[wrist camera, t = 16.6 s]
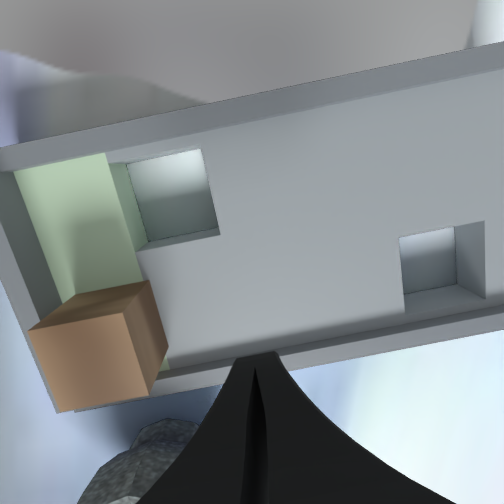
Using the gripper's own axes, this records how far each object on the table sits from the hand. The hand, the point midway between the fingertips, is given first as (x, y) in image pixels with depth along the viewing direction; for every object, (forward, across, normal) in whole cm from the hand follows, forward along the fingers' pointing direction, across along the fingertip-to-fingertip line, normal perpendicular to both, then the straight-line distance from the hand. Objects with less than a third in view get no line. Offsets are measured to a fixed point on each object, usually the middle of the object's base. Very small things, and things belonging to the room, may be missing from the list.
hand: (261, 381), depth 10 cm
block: (+7, +7, 0) cm, 10 cm away
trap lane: (+10, -2, -2) cm, 10 cm away
